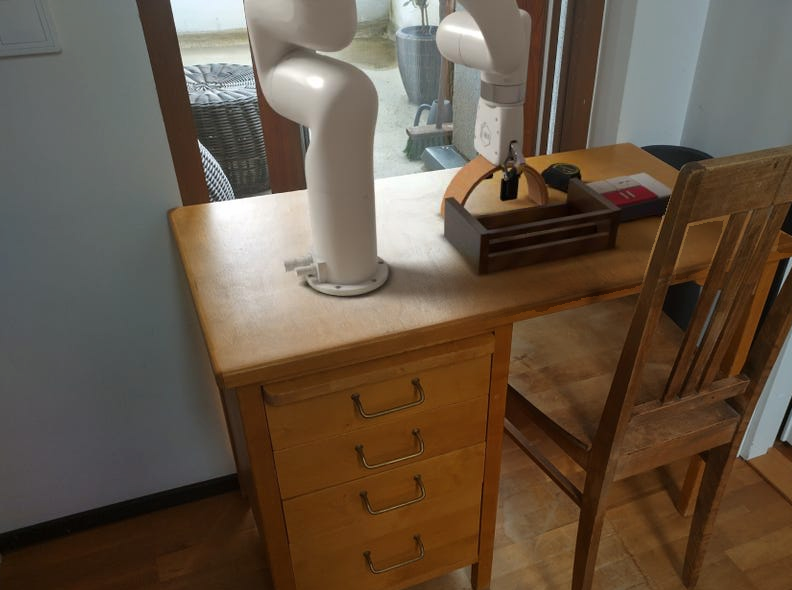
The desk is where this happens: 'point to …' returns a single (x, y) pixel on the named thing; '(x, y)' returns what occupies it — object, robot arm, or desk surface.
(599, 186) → the plus minus keypad
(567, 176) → the tape measure
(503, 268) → the rack
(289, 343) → the desk surface
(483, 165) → the arch
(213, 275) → the desk surface
